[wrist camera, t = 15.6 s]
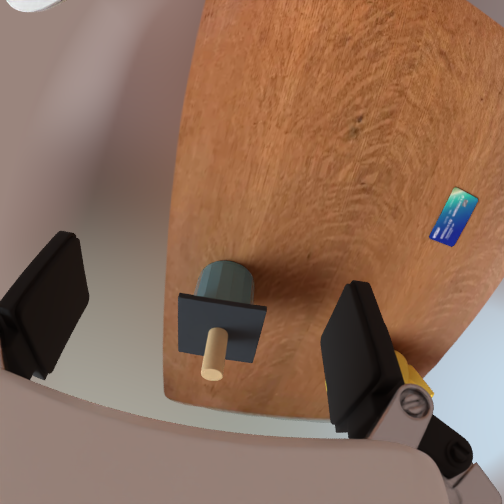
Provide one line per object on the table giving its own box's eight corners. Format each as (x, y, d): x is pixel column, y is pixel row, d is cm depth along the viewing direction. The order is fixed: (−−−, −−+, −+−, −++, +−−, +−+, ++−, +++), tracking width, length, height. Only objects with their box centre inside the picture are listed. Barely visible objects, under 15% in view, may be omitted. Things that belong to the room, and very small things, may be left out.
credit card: (452, 247, 40) (453, 247, 40) (428, 237, 40) (428, 238, 40) (478, 199, 36) (478, 199, 36) (454, 186, 35) (454, 186, 35)
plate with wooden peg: (179, 347, 41) (168, 389, 35) (179, 292, 35) (164, 338, 29) (252, 358, 41) (250, 402, 35) (266, 306, 36) (266, 354, 30)
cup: (197, 299, 48) (186, 343, 40) (200, 256, 43) (187, 300, 36) (249, 307, 48) (246, 352, 40) (258, 265, 44) (256, 310, 36)
